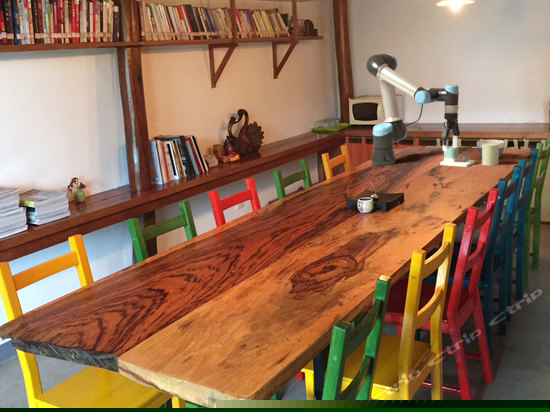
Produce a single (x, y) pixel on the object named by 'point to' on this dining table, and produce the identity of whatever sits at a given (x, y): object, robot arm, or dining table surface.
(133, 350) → the dining table surface
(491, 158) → the can
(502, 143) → the bowl
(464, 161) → the pinboard
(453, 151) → the sleeve
